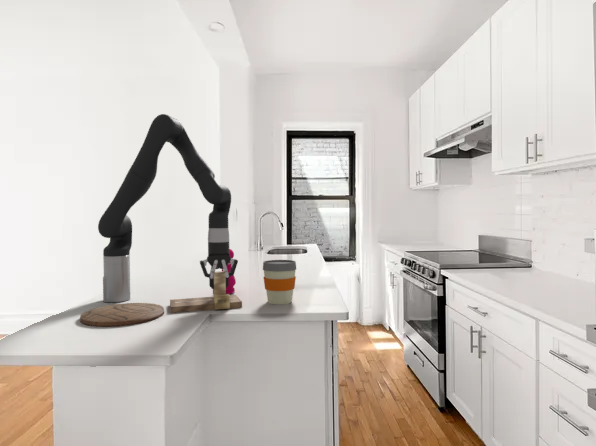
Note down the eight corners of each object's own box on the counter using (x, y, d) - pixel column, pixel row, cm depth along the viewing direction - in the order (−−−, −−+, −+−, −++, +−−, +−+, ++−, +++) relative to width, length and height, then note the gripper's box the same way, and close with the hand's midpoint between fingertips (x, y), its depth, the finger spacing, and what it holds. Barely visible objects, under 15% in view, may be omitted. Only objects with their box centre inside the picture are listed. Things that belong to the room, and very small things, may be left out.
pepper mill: (234, 294, 167) (233, 245, 167) (216, 294, 168) (215, 245, 167) (237, 290, 175) (236, 244, 174) (220, 290, 175) (219, 244, 174)
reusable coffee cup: (292, 306, 146) (292, 264, 146) (258, 304, 148) (258, 263, 148) (299, 298, 158) (299, 260, 158) (268, 297, 161) (267, 259, 160)
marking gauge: (215, 309, 140) (214, 276, 139) (210, 301, 152) (210, 270, 152) (229, 308, 141) (229, 275, 141) (224, 300, 154) (223, 270, 153)
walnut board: (170, 312, 137) (170, 306, 137) (170, 305, 149) (170, 299, 149) (242, 307, 145) (241, 301, 145) (236, 300, 156) (236, 294, 156)
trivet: (115, 332, 116) (115, 326, 116) (62, 321, 129) (62, 315, 129) (180, 313, 138) (180, 307, 138) (130, 305, 150) (129, 300, 150)
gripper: (199, 242, 142) (199, 291, 142) (240, 240, 146) (240, 288, 147) (197, 240, 149) (198, 287, 149) (236, 239, 153) (236, 285, 154)
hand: (219, 287), depth 148 cm, fingers closed on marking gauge, 4 cm apart
